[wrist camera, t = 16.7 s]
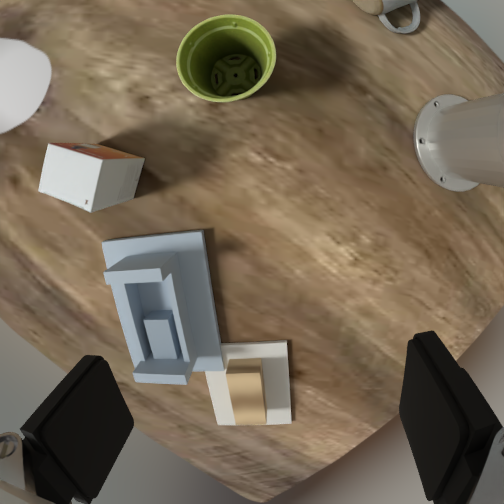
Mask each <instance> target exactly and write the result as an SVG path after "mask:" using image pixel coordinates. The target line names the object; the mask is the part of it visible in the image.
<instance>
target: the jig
mask: <svg viewBox="0 0 504 504" xmlns="http://www.w3.org/2000/svg"><path fill="white" fill-rule="evenodd" d="M102 247H103V252H104V257H105V261H106V266H107V270H106V271H104V277H105V281H106V285H107V284H111V287H112V291H113V295H114V299H115V303H116V307H117V310H118V314H119V318H120V321H121V325H122V328H123V332H124V335H125V338H126V342H127V345H128V348H129V351H130V355H131V358H132V361H133V364H134V367H135V370H134V371H133V376H134V379H135V381H136V382H143V383H161V384H186V385H187V383H188V381H189V378H190V376H191V373H192V371H224V370H225V367H224V362H223V356H222V351H221V339H220V333H219V327H218V321H217V315H216V309H215V303H214V297H213V291H212V284H211V278H210V271H209V265H208V258H207V251H206V244H205V237H204V230H194V231H184V232H175V233H165V234H156V235H146V236H137V237H129V238H120V239H111V240H105V241H103V242H102Z"/></svg>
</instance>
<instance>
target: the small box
mask: <svg viewBox="0 0 504 504" xmlns="http://www.w3.org/2000/svg"><path fill="white" fill-rule="evenodd" d="M144 160H145V158H143V157H139V156H135V155H132V154H128V153H125V152H122V151H119V150H115V149H112V148H109V147H106V146H102V145H99V144H83V143H49V144H48V148H47V151H46V156H45V160H44V165H43V170H42V175H41V180H40V185H39V192H41V193H45V194H47V195H50V196H53V197H55V198H58V199H60V200H63V201H65V202H68V203H70V204H73V205H75V206H78V207H80V208H82V209H84V210H86V211H88V212H94V211H97V210H100V209H103V208H107V207H110V206H113V205H116V204H119V203H122V202H126V201H129V200H132V199H134V195H135V191H136V187H137V184H138V180H139V177H140V173H141V170H142V167H143V163H144Z"/></svg>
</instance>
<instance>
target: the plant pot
mask: <svg viewBox="0 0 504 504" xmlns="http://www.w3.org/2000/svg"><path fill="white" fill-rule="evenodd" d="M233 57H239V58H240V60H230V61H229V59H231V58H233ZM275 62H276V49H275V44H274V42H273V39H272V37H271V36H270V34H269V33H268V31H267V30H266V29H265V28H264V27H263V26H262V25H260V24H259V23H258V22H256V21H254V20H252V19H250V18H248V17H245V16H240V15H220V16H215V17H212V18H209V19H207V20H205V21H203V22H201V23H199V24H198V25H196V26H195V27H194V28H192V29H191V30H190V31H189V32H188V34H187V35H186V36H185V37H184V39H183V41H182V42H181V44H180V47H179V49H178V52H177V59H176V63H177V71H178V74H179V77H180V79H181V81H182V83H183V84H184V85H185V87H186V88H187V89H188V90H189V91H190V92H192V93H193V94H194V95H196V96H198V97H200V98H202V99H205V100H208V101H213V102H231V101H236V100H242V99H245V98H247V97H249V96H251V95H252V94H253V93H255V92H256V91H257V90H258V89H260V88H261V87H262V86H263V85H264V84H265V83H266V82H267V80H268V79H269V77H270V76H271V74H272V72H273V70H274V67H275ZM254 69H256V70H257V74H258V78H257V79H255V72H254ZM215 74H218V84H216V83H215V78H214V77H215ZM234 74H237V75H238V76H237V77H236V78H235V77H234ZM232 93H236V94H237V93H242V94H240V95H236V96H232Z"/></svg>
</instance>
